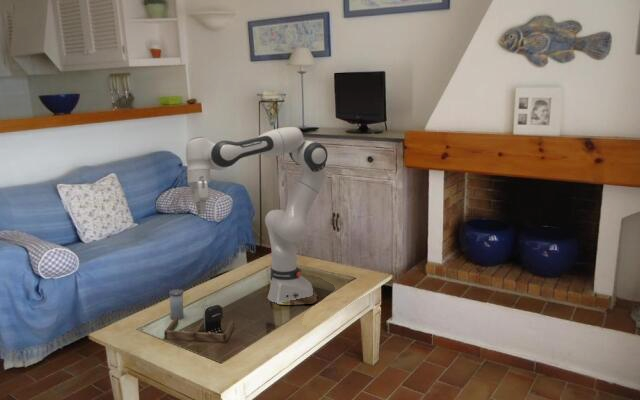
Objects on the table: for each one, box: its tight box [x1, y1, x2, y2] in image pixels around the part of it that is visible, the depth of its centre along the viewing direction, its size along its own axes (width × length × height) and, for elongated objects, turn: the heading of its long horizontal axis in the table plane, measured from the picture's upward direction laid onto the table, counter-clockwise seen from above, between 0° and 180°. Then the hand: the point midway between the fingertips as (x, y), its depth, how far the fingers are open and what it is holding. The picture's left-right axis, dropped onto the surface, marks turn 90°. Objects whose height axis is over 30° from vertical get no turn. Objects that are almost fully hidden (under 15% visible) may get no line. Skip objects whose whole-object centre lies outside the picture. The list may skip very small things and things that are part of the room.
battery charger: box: [203, 303, 224, 334], centre depth 204 cm, size 7×4×11 cm, turn 134°
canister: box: [168, 288, 184, 321], centre depth 218 cm, size 5×5×11 cm
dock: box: [163, 317, 235, 343], centre depth 206 cm, size 23×13×3 cm, turn 86°
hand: (201, 213), depth 212 cm, fingers open, 8 cm apart
